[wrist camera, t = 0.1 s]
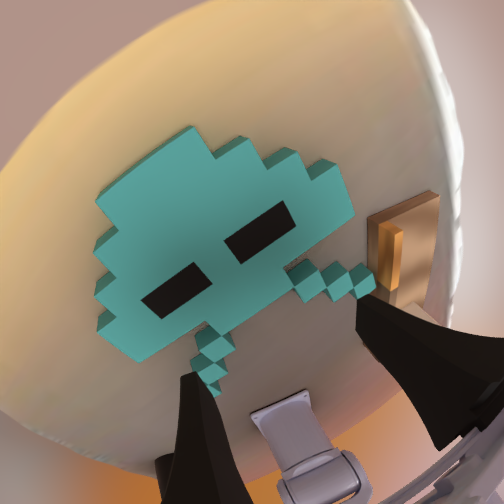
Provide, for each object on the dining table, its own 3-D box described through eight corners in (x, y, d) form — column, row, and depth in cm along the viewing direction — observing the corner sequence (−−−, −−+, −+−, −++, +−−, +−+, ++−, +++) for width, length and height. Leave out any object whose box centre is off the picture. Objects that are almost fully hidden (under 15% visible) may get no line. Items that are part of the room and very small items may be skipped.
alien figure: (362, 275, 27) (279, 74, 16) (376, 287, 25) (295, 71, 14) (199, 386, 27) (37, 253, 15) (203, 403, 25) (27, 269, 13)
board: (413, 312, 34) (429, 327, 31) (363, 344, 33) (378, 362, 30) (429, 190, 24) (455, 202, 21) (367, 217, 23) (394, 234, 20)
